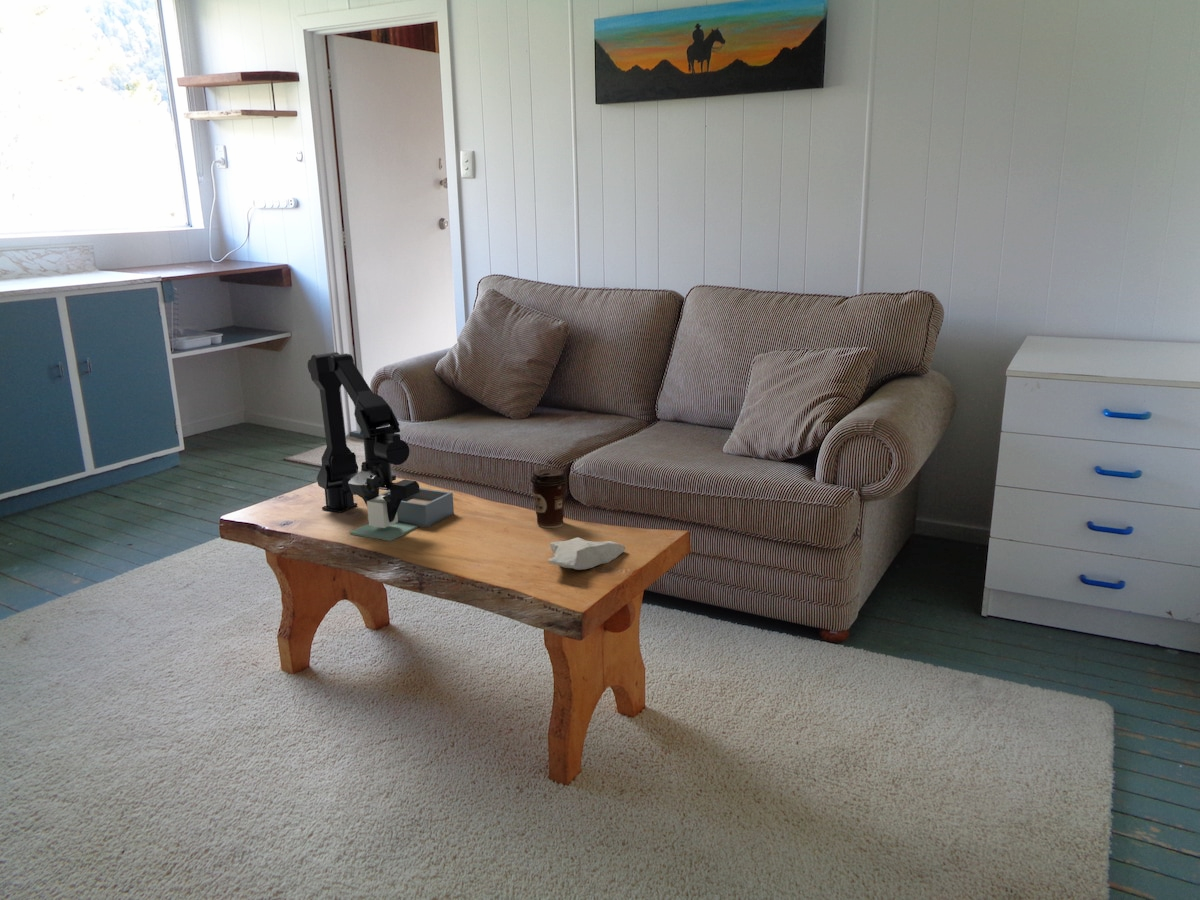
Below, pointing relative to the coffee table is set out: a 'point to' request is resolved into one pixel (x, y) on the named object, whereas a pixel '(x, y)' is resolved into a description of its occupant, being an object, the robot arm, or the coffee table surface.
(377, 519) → the block
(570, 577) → the coffee table surface
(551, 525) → the coffee cup
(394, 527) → the board
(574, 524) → the coffee table surface
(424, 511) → the slot box
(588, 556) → the rock
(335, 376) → the robot arm
